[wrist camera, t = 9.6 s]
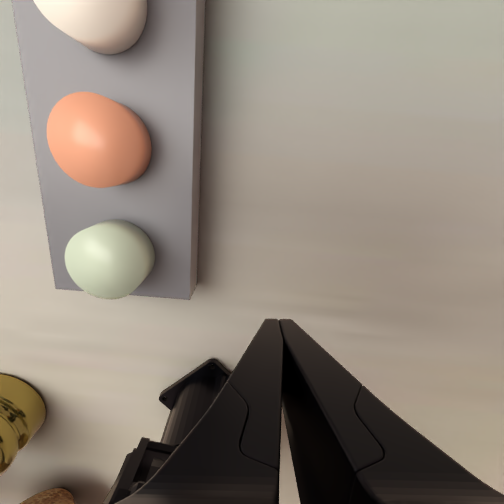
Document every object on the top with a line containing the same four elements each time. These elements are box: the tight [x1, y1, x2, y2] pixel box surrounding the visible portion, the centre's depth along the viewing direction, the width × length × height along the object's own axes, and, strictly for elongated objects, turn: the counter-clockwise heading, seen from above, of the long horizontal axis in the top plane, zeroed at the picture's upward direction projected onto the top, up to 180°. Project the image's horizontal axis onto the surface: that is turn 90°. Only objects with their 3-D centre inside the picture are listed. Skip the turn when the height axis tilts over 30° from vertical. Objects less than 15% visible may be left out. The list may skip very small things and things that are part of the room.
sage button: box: [65, 219, 155, 299], centre depth 16 cm, size 4×4×2 cm
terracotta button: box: [47, 92, 152, 188], centre depth 14 cm, size 4×4×2 cm
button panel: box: [12, 0, 205, 300], centre depth 17 cm, size 19×9×2 cm, turn 175°
